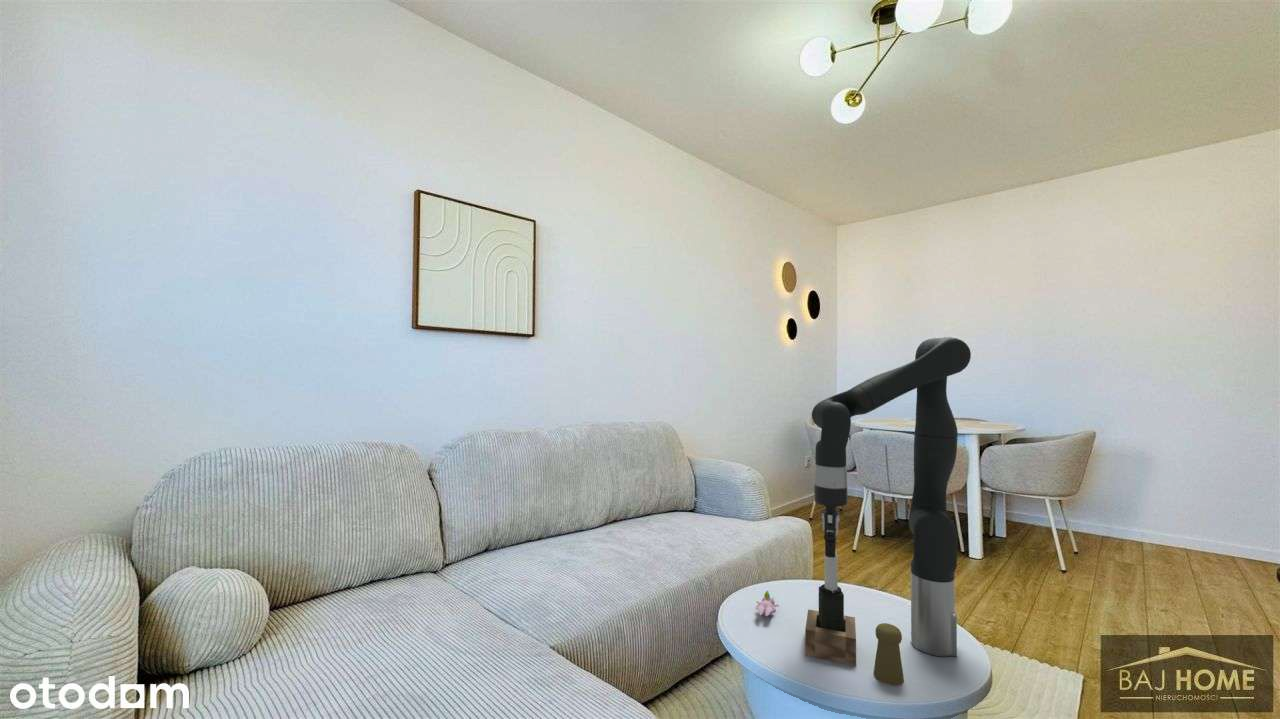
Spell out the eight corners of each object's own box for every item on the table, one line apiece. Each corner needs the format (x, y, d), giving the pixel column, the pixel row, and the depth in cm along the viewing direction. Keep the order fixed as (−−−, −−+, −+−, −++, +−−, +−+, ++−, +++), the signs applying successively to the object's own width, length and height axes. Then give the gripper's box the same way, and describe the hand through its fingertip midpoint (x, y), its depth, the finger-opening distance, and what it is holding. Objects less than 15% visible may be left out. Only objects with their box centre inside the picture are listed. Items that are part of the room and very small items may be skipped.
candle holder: (855, 642, 126) (854, 617, 126) (856, 665, 116) (856, 638, 116) (808, 633, 130) (808, 609, 130) (805, 655, 120) (805, 629, 120)
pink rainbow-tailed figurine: (757, 606, 148) (751, 620, 134) (758, 584, 149) (751, 596, 135) (780, 609, 146) (775, 624, 132) (780, 587, 147) (776, 600, 133)
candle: (838, 639, 125) (839, 536, 126) (845, 650, 120) (845, 543, 121) (817, 638, 125) (817, 535, 126) (822, 649, 120) (822, 542, 121)
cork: (868, 669, 114) (867, 619, 114) (893, 668, 115) (893, 619, 115) (883, 686, 108) (883, 633, 108) (910, 685, 108) (910, 632, 109)
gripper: (847, 491, 116) (847, 563, 115) (847, 479, 129) (847, 544, 128) (812, 488, 118) (812, 558, 118) (815, 476, 132) (815, 540, 131)
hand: (830, 551), depth 123 cm, fingers open, 8 cm apart
